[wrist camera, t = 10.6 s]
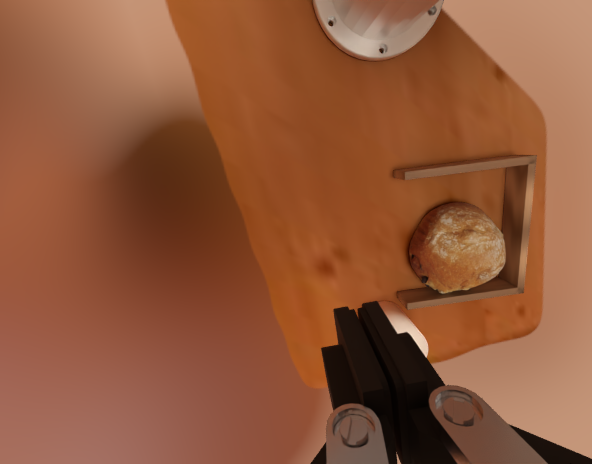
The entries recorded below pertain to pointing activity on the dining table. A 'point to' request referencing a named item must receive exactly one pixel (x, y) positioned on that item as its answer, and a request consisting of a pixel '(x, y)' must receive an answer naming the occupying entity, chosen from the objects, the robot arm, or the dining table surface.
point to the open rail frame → (513, 229)
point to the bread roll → (457, 248)
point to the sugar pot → (403, 324)
